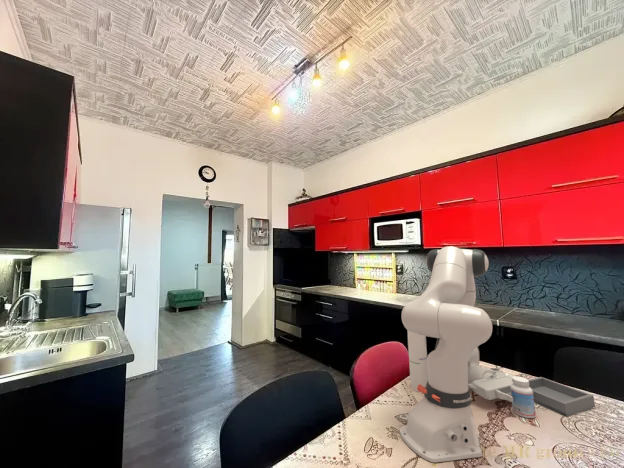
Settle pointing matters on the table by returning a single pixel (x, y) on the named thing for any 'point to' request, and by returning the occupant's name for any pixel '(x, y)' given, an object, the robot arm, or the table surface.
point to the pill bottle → (522, 397)
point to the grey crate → (560, 397)
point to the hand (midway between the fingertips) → (522, 396)
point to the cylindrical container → (417, 360)
